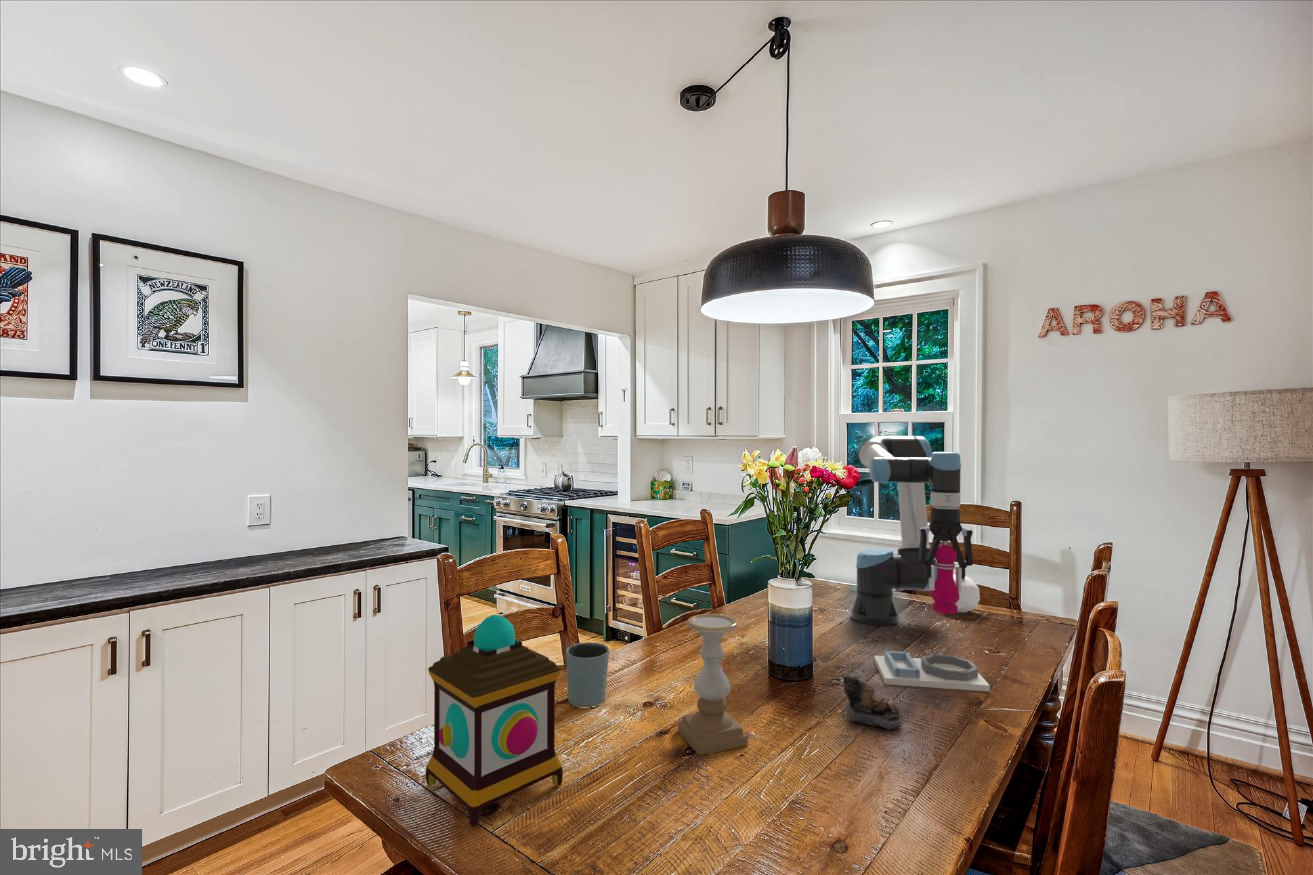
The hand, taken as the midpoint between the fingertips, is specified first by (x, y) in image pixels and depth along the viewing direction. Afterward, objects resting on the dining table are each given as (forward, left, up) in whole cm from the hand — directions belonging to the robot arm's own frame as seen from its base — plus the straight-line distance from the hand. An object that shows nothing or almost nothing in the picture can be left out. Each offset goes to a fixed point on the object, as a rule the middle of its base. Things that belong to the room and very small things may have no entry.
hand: (945, 589), depth 168 cm
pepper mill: (0, 0, -6) cm, 6 cm away
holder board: (+14, -8, -19) cm, 25 cm away
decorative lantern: (+81, -96, -19) cm, 127 cm away
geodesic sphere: (-50, +18, -19) cm, 56 cm away
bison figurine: (+45, -27, -19) cm, 56 cm away
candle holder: (+57, -60, -19) cm, 85 cm away
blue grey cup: (+45, -90, -19) cm, 103 cm away
